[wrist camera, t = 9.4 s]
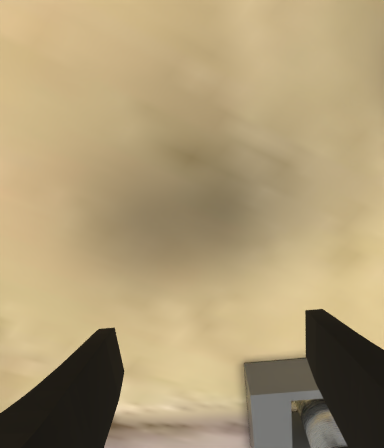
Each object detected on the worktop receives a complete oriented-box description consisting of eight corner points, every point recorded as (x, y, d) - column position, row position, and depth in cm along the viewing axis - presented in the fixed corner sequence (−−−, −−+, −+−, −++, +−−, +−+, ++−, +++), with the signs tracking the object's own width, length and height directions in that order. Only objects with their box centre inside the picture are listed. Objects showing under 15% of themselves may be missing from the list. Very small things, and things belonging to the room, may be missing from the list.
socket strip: (379, 352, 23) (405, 383, 20) (371, 466, 27) (392, 506, 24) (243, 363, 24) (250, 395, 21) (252, 473, 27) (259, 514, 24)
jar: (329, 367, 24) (381, 460, 17) (332, 401, 25) (382, 502, 18) (285, 373, 24) (319, 468, 17) (290, 406, 25) (324, 508, 18)
